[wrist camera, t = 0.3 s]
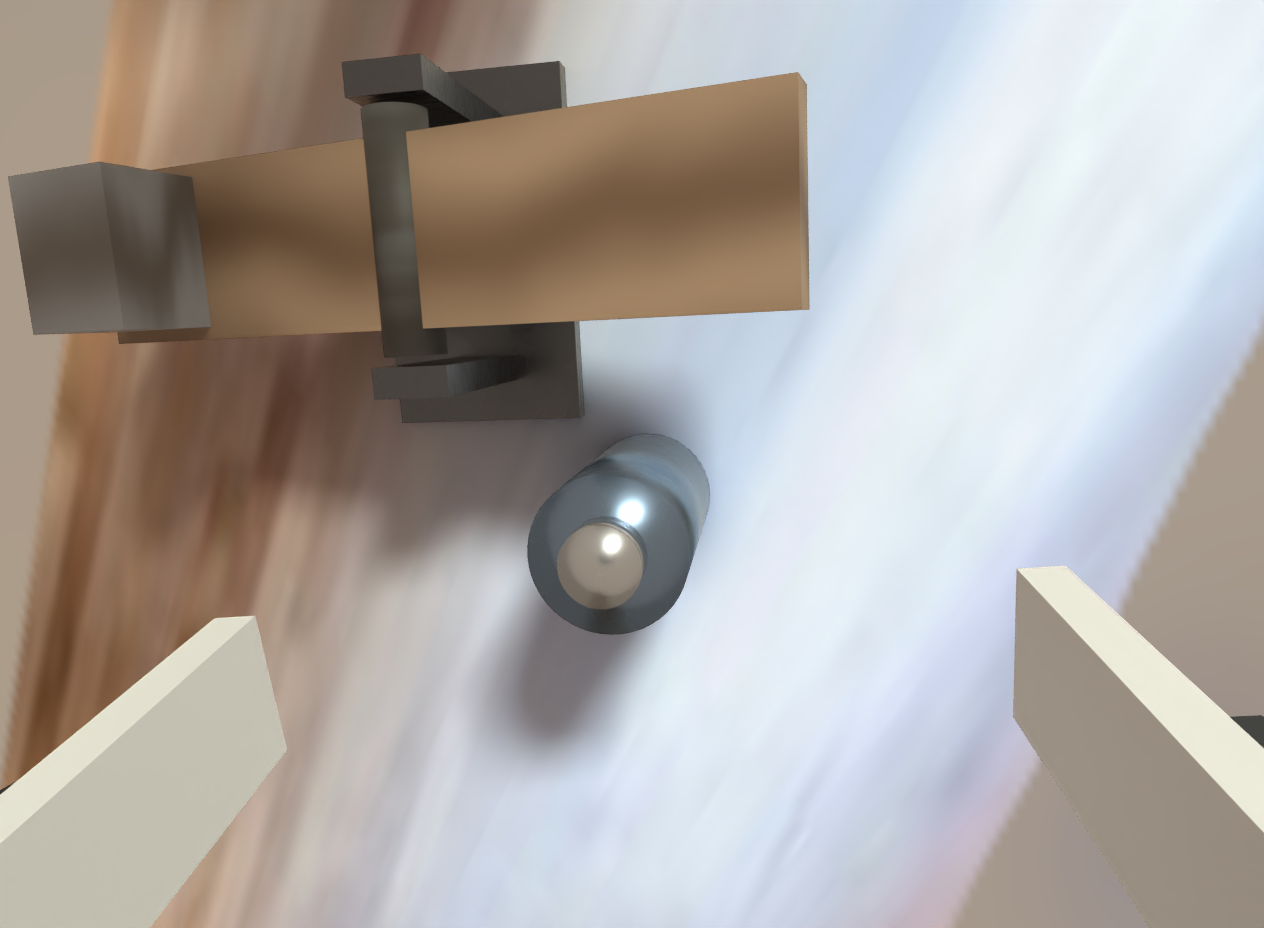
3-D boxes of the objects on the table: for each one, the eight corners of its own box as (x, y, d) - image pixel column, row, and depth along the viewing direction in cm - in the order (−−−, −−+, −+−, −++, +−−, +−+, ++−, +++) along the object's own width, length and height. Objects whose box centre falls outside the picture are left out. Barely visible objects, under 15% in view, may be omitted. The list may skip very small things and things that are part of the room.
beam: (132, 161, 38) (-8, 137, 32) (808, 54, 27) (769, -10, 21) (160, 363, 39) (31, 372, 34) (812, 339, 28) (776, 347, 23)
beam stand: (380, 85, 40) (259, 14, 31) (564, 67, 39) (497, -14, 29) (410, 420, 43) (307, 450, 33) (584, 415, 41) (528, 444, 32)
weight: (585, 435, 42) (509, 485, 29) (707, 432, 41) (681, 481, 28) (592, 553, 43) (521, 648, 30) (711, 553, 42) (688, 651, 29)
